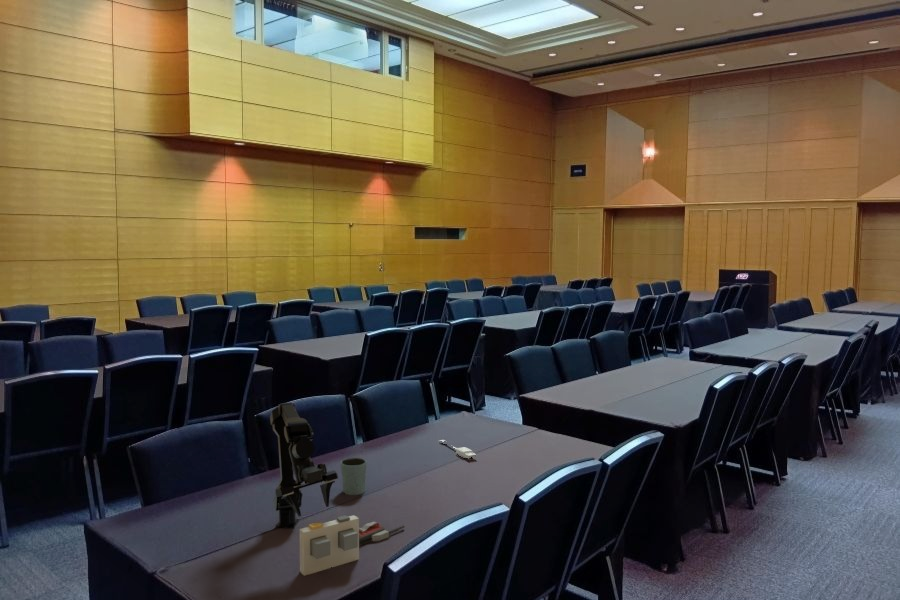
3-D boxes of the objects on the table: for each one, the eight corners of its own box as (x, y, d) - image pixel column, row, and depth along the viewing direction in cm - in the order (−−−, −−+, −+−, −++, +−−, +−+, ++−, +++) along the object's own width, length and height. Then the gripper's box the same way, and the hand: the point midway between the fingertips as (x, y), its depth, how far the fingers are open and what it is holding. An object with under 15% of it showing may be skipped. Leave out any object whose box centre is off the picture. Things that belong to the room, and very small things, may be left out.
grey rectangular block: (303, 547, 201) (303, 533, 201) (317, 543, 204) (317, 529, 203) (316, 559, 194) (316, 544, 193) (330, 555, 196) (330, 540, 196)
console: (299, 571, 198) (299, 526, 197) (354, 555, 209) (354, 512, 208) (304, 575, 196) (303, 530, 195) (358, 559, 206) (358, 515, 205)
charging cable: (444, 443, 332) (444, 437, 331) (477, 459, 303) (477, 452, 303) (435, 445, 329) (435, 438, 329) (467, 461, 301) (467, 453, 300)
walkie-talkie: (360, 550, 213) (406, 531, 228) (360, 536, 213) (406, 518, 227) (343, 541, 219) (389, 523, 234) (343, 528, 219) (389, 511, 233)
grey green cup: (361, 497, 257) (361, 466, 256) (336, 494, 259) (336, 464, 258) (370, 487, 267) (369, 458, 266) (345, 485, 269) (345, 456, 268)
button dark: (331, 540, 206) (330, 526, 206) (343, 536, 209) (343, 522, 209) (344, 551, 199) (344, 536, 199) (357, 547, 202) (357, 533, 201)
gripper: (281, 465, 197) (294, 518, 194) (338, 449, 208) (351, 499, 205) (269, 470, 206) (281, 521, 202) (324, 455, 217) (337, 503, 213)
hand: (313, 511), depth 205 cm, fingers open, 9 cm apart
